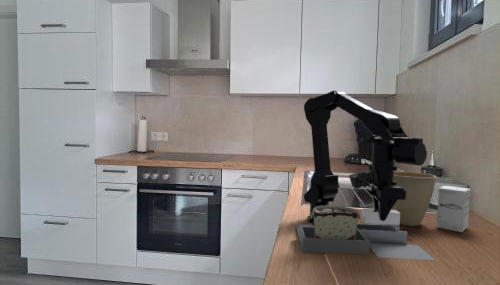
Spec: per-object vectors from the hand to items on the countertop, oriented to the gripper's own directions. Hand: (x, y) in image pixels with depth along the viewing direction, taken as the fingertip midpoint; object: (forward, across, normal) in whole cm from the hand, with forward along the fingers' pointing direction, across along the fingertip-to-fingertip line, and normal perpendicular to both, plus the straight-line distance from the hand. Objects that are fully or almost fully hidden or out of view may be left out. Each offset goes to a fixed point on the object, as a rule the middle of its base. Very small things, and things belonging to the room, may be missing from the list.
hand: (380, 218), depth 94 cm
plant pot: (+6, -19, +15) cm, 25 cm away
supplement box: (+6, -15, +27) cm, 32 cm away
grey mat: (+6, +9, +2) cm, 11 cm away
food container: (+6, +6, -14) cm, 16 cm away
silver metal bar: (+1, 0, 0) cm, 1 cm away
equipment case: (+6, +1, -14) cm, 15 cm away
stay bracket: (+6, 0, 0) cm, 6 cm away
